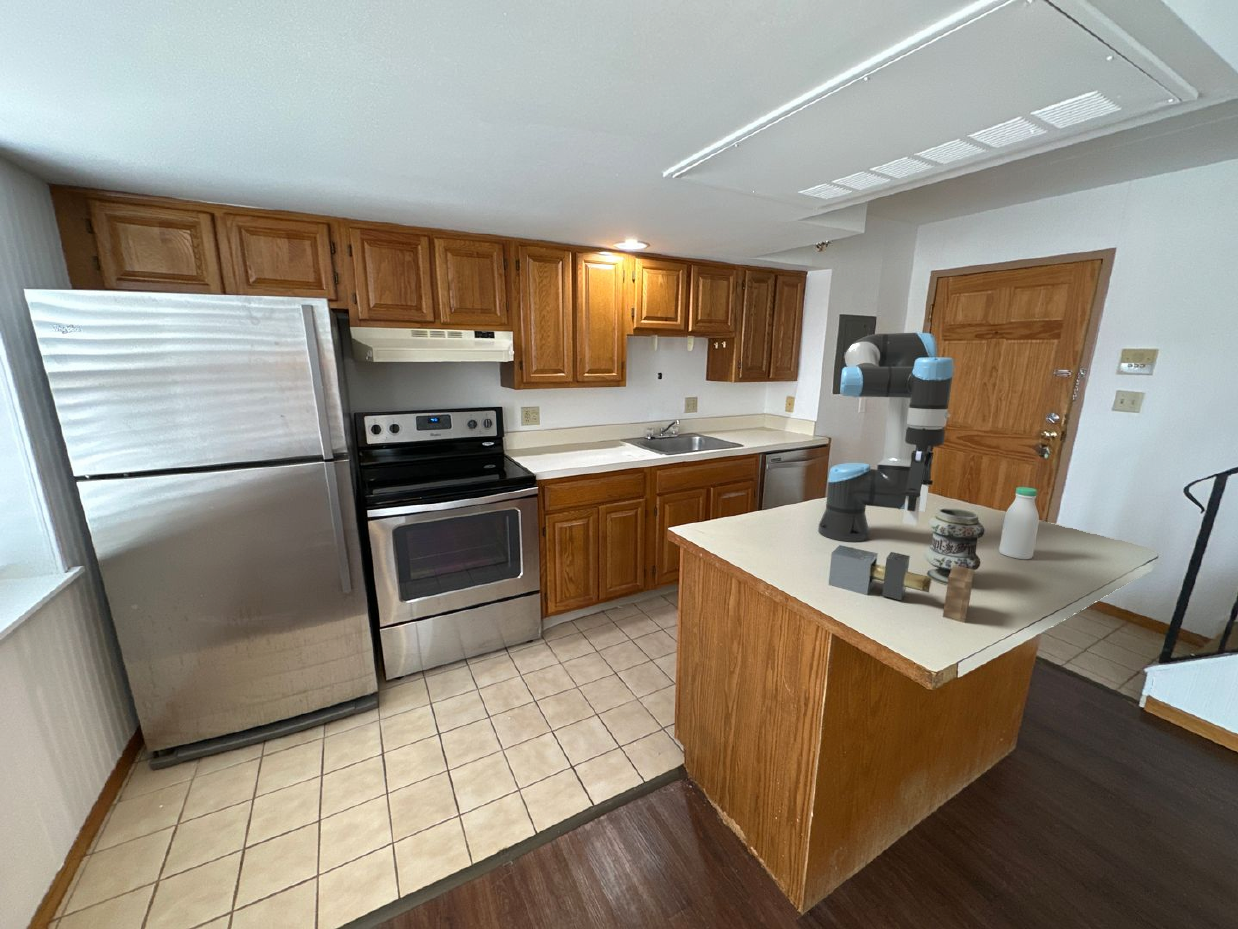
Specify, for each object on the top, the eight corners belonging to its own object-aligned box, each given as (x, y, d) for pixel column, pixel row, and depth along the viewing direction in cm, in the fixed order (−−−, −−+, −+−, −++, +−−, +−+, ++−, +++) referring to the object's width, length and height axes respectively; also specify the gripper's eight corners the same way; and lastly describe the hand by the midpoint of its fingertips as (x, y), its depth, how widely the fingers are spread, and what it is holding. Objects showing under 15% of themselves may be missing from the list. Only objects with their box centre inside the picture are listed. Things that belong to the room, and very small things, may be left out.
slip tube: (834, 582, 124) (837, 547, 122) (839, 575, 127) (843, 541, 125) (925, 607, 111) (931, 568, 109) (929, 599, 115) (934, 561, 113)
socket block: (942, 616, 108) (948, 576, 106) (947, 603, 114) (953, 565, 112) (964, 622, 105) (971, 581, 103) (968, 608, 111) (974, 569, 109)
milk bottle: (1038, 561, 138) (1051, 492, 133) (1007, 559, 139) (1019, 491, 135) (1022, 551, 145) (1034, 485, 141) (993, 549, 146) (1003, 484, 142)
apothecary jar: (964, 571, 131) (974, 507, 128) (986, 591, 120) (997, 521, 116) (914, 567, 134) (922, 504, 130) (931, 586, 122) (941, 517, 119)
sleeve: (828, 584, 123) (831, 553, 122) (836, 575, 129) (839, 545, 127) (867, 595, 118) (870, 562, 116) (874, 585, 123) (877, 553, 121)
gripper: (939, 434, 98) (925, 534, 103) (951, 423, 117) (939, 508, 122) (897, 431, 103) (886, 527, 107) (915, 421, 122) (905, 502, 126)
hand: (914, 517), depth 114 cm, fingers open, 13 cm apart
